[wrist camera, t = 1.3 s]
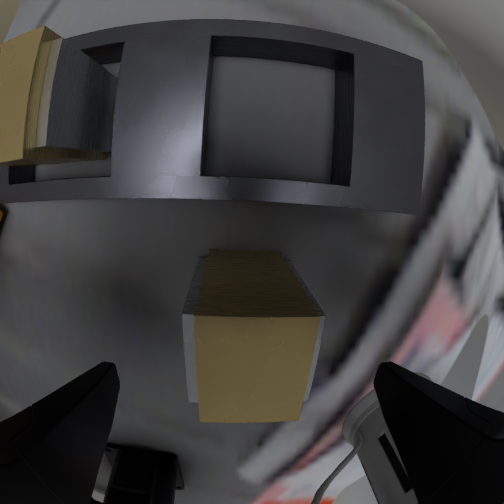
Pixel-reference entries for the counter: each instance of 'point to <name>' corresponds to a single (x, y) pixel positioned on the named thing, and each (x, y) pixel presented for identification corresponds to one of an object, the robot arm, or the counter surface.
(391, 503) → the glass holder
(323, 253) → the counter surface
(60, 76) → the tan-capped ribbed block
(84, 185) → the tray
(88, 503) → the robot arm
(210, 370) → the gold metal block
